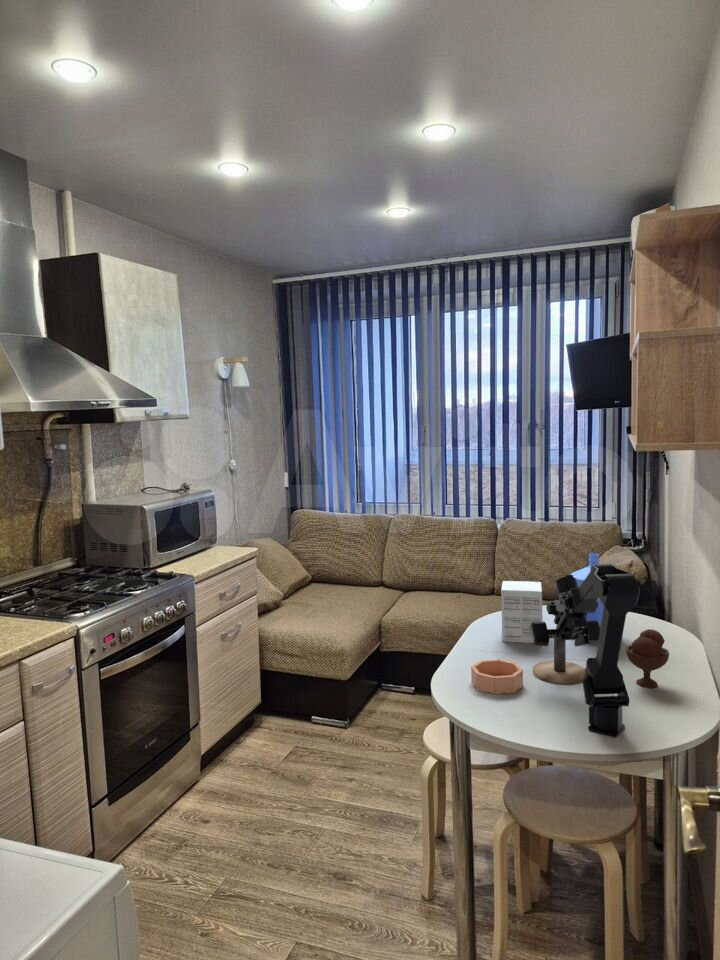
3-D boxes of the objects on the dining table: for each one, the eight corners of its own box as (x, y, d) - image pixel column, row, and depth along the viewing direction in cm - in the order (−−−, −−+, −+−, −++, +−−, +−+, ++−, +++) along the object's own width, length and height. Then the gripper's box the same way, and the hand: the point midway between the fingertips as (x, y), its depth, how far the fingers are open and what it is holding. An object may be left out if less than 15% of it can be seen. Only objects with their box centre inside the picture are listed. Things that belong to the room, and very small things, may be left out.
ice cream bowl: (631, 673, 184) (631, 621, 182) (674, 682, 177) (674, 628, 175) (619, 685, 176) (619, 631, 174) (663, 695, 168) (663, 639, 167)
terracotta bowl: (529, 681, 180) (529, 666, 180) (507, 697, 170) (507, 681, 170) (487, 671, 188) (487, 656, 188) (464, 686, 178) (464, 670, 178)
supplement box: (503, 629, 227) (502, 580, 225) (542, 631, 223) (541, 581, 222) (501, 641, 214) (500, 589, 212) (542, 644, 210) (542, 591, 209)
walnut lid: (595, 671, 186) (595, 628, 185) (575, 688, 175) (575, 643, 174) (545, 660, 196) (545, 620, 195) (523, 676, 184) (523, 633, 183)
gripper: (598, 592, 178) (584, 619, 190) (531, 594, 178) (521, 621, 190) (610, 629, 171) (594, 654, 183) (539, 631, 171) (528, 657, 183)
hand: (559, 645), depth 185 cm, fingers open, 9 cm apart
